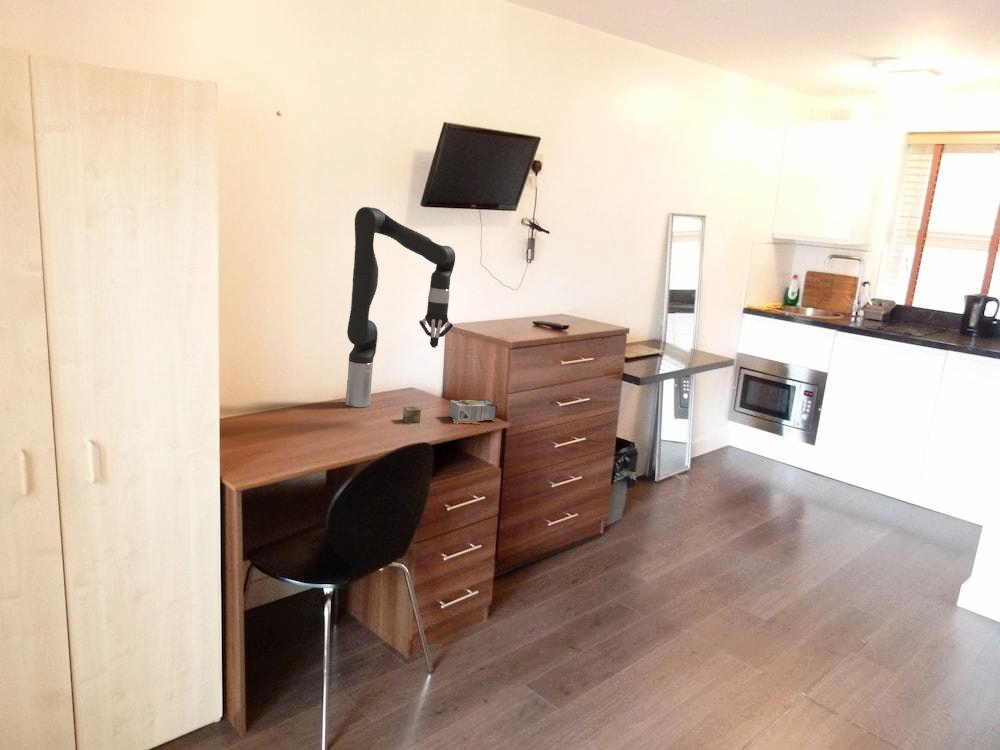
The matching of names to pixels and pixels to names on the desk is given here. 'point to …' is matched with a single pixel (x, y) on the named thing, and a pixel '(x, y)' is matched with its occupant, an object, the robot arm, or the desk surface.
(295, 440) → the desk surface
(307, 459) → the desk surface
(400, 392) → the desk surface
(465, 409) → the coffee box
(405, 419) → the walnut block
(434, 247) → the robot arm
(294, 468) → the desk surface
